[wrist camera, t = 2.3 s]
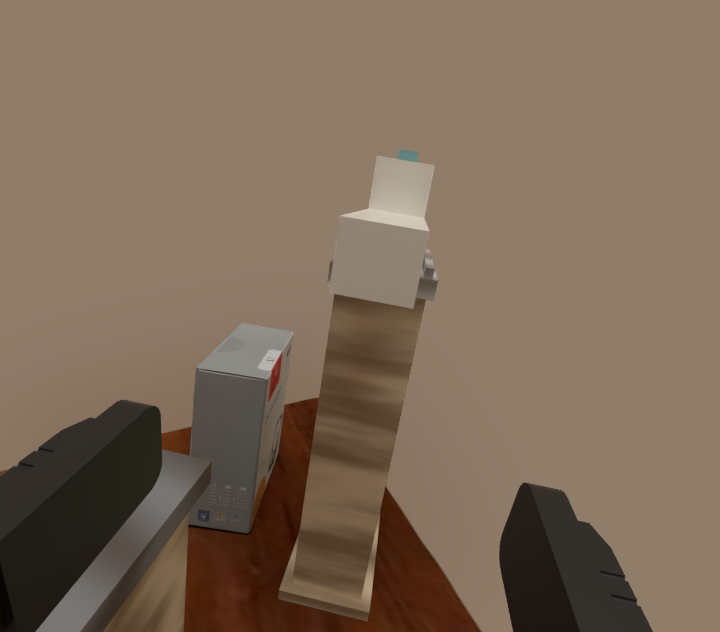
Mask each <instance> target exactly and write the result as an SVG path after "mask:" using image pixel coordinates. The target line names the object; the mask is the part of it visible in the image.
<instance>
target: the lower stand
mask: <svg viewBox="0 0 720 632" xmlns="http://www.w3.org/2000/svg"><path fill="white" fill-rule="evenodd" d="M37 451H38V450H37ZM18 464H19V463H18ZM18 464H16V465H15V467H17V466H18ZM211 469H212V461H210V460H206V459H201V458H197V457H193V456H188V455H184V454H179V453H175V452H171V451H166V450H162V468H161V472H160V475H159V477H158V480H157V482H156V484H155V486H154V487H153V489H152V490H151V491H150V493H149V494H148V495H147V496H146V498H145V499H144V500H143V501H142V502H141V504H140V505H139V506H138V507H137V509H136V510H135V511H134V512H133V513H132V515H131V516H130V517H129V518H128V520H127V521H126V522H125V523H124V524H123V526H122V527H121V528H120V529H119V531H118V532H117V533H116V534H115V535H114V537H113V538H112V539H111V540H110V541H109V543H108V544H107V545H106V546H105V548H104V549H103V550H102V551H101V552H100V554H99V555H98V556H97V557H96V559H95V560H94V561H93V562H92V563H91V565H90V566H89V567H88V568H87V570H86V571H85V572H84V573H83V574H82V576H81V577H80V578H79V579H78V581H77V582H76V583H75V584H74V585H73V587H72V588H71V589H70V590H69V592H68V593H67V594H66V595H65V596H64V598H63V599H62V600H61V601H60V603H59V604H58V605H57V606H56V607H55V609H54V610H53V611H52V612H51V613H50V615H49V616H48V617H47V618H46V620H45V621H44V622H43V623H42V624H41V626H40V627H39V628H38V629H37V631H36V632H184V611H185V588H186V566H187V543H188V521H189V511H190V510H191V509H192V507H193V506H194V504H195V503H196V502H197V500H198V499H199V497H200V496H201V495H202V493H203V492H204V491H205V489H206V488H207V486H208V485H209V484H210V482H211ZM3 474H4V473H3ZM0 476H1V475H0Z"/></svg>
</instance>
